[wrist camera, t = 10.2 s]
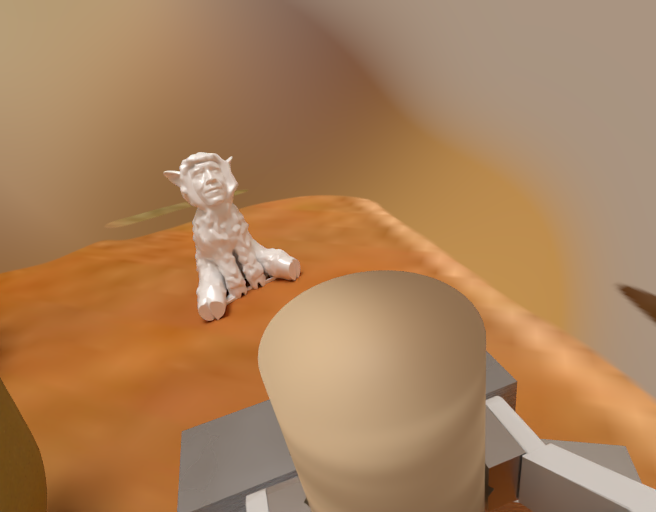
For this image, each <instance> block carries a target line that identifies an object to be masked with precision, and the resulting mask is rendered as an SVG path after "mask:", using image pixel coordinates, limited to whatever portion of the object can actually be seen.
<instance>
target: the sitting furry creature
mask: <svg viewBox="0 0 656 512" xmlns="http://www.w3.org/2000/svg"><path fill="white" fill-rule="evenodd" d="M231 160H232V157H230V158H228V159H227V160H226V161H225V160H223V159H221V158H220V156H219V155H217V154H214V153H203V152H198V153H197V154H193V155H191V156H189V157H188V158H187V159H186V160H183V161H182V164H181V166H180V167H179V168H180V172H179V171H165V172H164V173H163V174H164V176H165V177H166V178H167V179H169V180H170V181H171V182H172V183H173V184H175V185H176V186H179V187H181V188H180V190H181V192H182V196H183V198H184V199H185V200H186V201H187V202H188V203H189V204H191V205H192V206H196V207H198V209H197V211H196V215H195V217H194V220H193V221H192V224H193V226H194V227H193V232H194V235H193V240H194V242H195V245H196V246H195V247H196V252H197V253H196V254H195V258H196V262H197V264H196V265H197V271H198V272H199V287H198V288H197V291H196V294H197V295H198V299H197V302H198V312H199V315H200V316H201V317H202V318H203V319H204V320H207V321H212V320H214V319H217V320H219V318H220V317H222V316H223V315H224V313H225V309H226V305H228V304H229V303H231V302H233V301H234V300H236V299H238V298H240V297H241V294H242V293H243V294H244V295H246V294H247V291H248V290H250V289H252V288H254V289H258V283H260V285H261V286H262V287H263V286H264V285H265V284H267V283H269V282H271V281H273V280H275V279H277V278H281V279H286V280H294V281H295V280H296V278H298V277H299V275H300V263H299V261H298V260H297V259H295V258H293V257H291V256H289V255H288V254H287V253H286V252H284V251H283V250H281V249H277V250H276V249H273V248H271V249H266V248H265V247H263V246H262V245H260V244H259V243H257V242H256V240H254V239H253V238H252V236H251V235H250V233H249V231H248V226H249V225H248V224H247V223H246V222H245V220H244V217H243V215H242V214H241V213H240V212H239V210H238V209H237V207H236V206H235V205H234V204H233V203H232V202H233V195H234V192H235V190H236V188H237V187H238V183H237V182H236V180H235V178H234V176H233V174H232V173H231V167H230V164H231ZM268 276H269V277H271V278H269V279H267V280H266V278H267V277H268ZM244 279H247V281H248V282H249V284H250V285H251V286H249V287H246V285H245V284H246V281H245V280H244ZM227 290H228V292H229V296H227V297H226V292H227Z"/></svg>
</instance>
